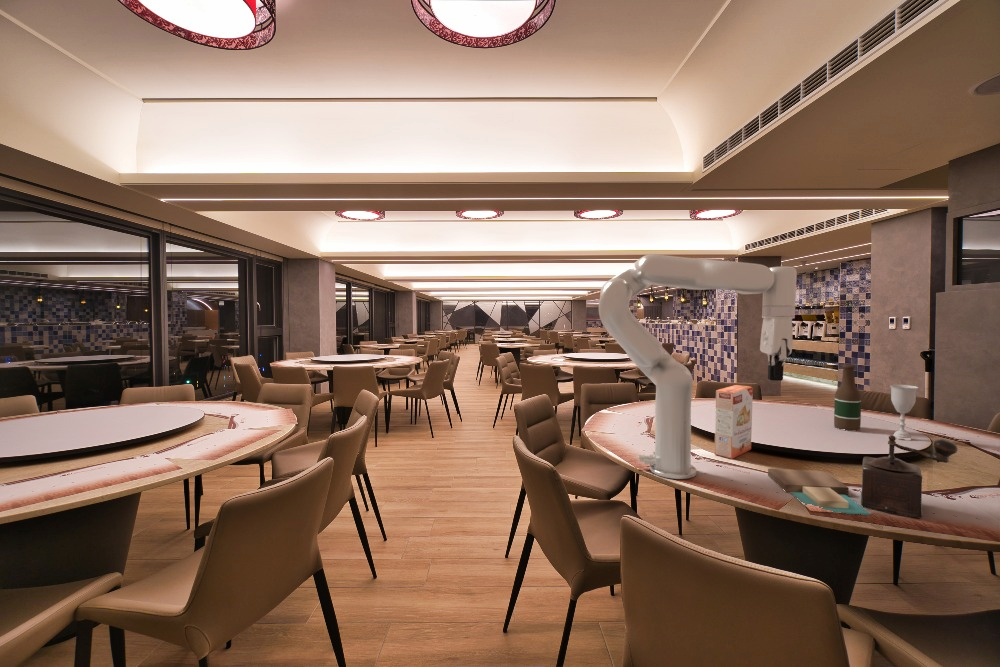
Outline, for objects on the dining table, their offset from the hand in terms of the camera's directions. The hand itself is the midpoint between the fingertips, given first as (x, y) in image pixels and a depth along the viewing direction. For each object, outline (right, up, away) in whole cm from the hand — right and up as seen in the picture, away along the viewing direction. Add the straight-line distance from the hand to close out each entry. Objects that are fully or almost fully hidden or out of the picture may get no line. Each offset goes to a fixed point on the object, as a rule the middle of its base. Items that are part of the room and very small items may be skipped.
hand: (775, 379), depth 121 cm
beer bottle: (+54, -23, +44) cm, 73 cm away
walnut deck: (+5, -27, -5) cm, 28 cm away
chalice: (+63, -24, +31) cm, 74 cm away
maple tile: (+3, -27, -15) cm, 31 cm away
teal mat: (+3, -28, -16) cm, 32 cm away
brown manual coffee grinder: (+18, -28, -19) cm, 38 cm away
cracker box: (0, -26, +21) cm, 33 cm away
